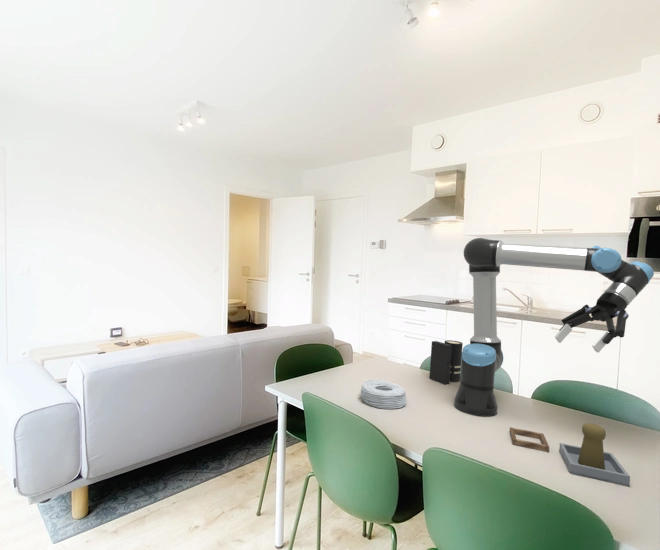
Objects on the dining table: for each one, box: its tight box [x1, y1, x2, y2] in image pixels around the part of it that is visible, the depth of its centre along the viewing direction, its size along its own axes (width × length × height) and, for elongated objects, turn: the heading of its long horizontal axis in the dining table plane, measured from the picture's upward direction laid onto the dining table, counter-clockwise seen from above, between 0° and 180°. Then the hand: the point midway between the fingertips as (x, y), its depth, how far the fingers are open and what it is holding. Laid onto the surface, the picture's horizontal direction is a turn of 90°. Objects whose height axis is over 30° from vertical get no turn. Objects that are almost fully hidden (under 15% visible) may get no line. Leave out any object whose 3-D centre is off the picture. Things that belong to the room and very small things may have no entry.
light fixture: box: [428, 339, 463, 386], centre depth 171 cm, size 10×14×18 cm
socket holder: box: [509, 427, 550, 453], centre depth 112 cm, size 10×10×2 cm
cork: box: [578, 422, 607, 470], centre depth 98 cm, size 6×6×11 cm
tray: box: [558, 442, 631, 487], centre depth 98 cm, size 13×13×2 cm
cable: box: [360, 379, 408, 410], centre depth 139 cm, size 18×18×6 cm
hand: (575, 344), depth 117 cm, fingers open, 13 cm apart
